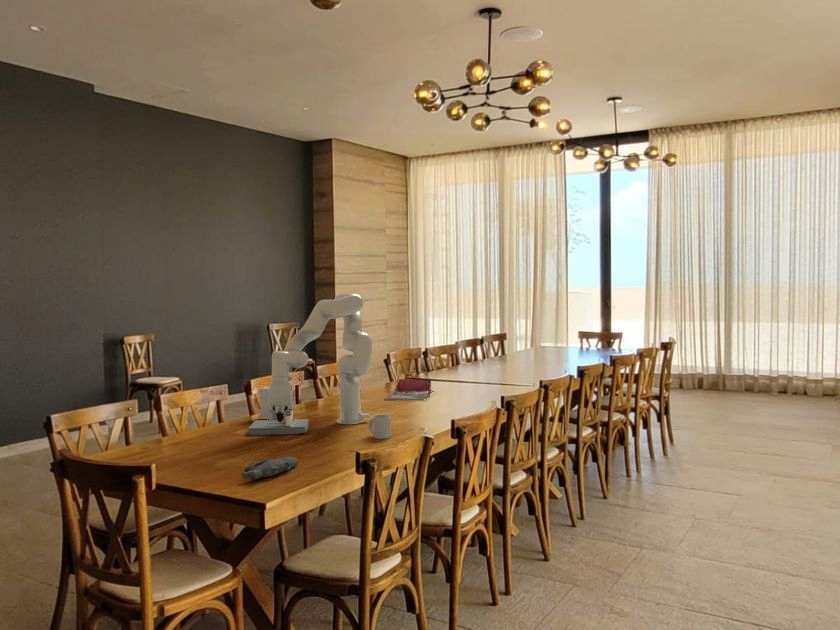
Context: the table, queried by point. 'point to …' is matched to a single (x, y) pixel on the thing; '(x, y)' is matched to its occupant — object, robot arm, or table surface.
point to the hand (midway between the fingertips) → (280, 421)
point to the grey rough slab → (269, 467)
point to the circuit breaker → (266, 405)
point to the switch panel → (278, 427)
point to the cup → (380, 426)
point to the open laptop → (411, 390)
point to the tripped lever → (288, 419)
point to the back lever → (291, 413)
